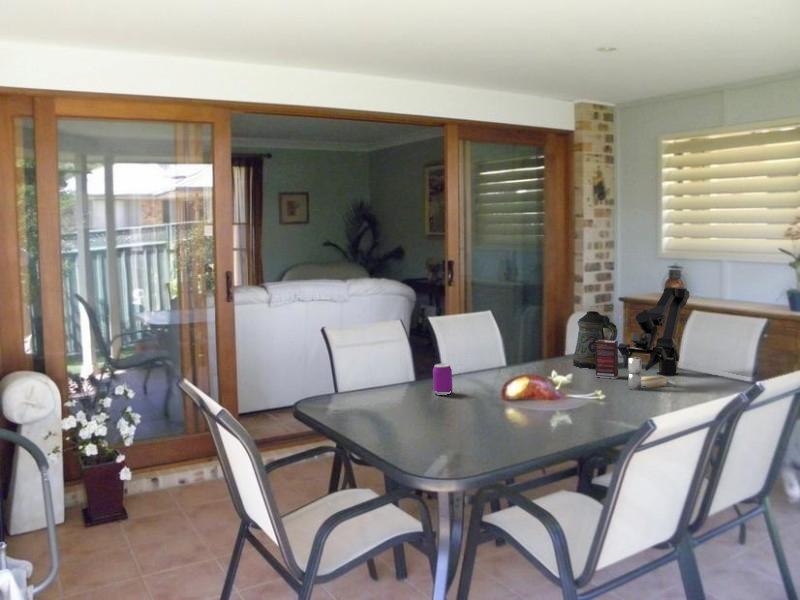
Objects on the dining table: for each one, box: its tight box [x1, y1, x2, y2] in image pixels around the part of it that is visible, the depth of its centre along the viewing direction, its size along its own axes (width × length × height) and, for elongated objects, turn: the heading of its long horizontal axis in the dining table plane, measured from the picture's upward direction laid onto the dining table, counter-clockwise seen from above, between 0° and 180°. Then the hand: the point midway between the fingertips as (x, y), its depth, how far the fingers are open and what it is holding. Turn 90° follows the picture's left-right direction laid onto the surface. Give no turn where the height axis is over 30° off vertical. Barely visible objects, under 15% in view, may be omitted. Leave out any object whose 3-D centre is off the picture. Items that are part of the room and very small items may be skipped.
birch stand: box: [641, 375, 668, 388], centre depth 299 cm, size 12×12×2 cm
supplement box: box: [595, 339, 619, 380], centre depth 312 cm, size 9×5×16 cm, turn 58°
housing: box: [627, 356, 642, 391], centre depth 291 cm, size 5×5×12 cm
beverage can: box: [432, 363, 453, 392], centre depth 296 cm, size 8×8×12 cm
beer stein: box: [572, 310, 618, 370], centre depth 335 cm, size 16×19×25 cm
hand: (635, 368), depth 291 cm, fingers open, 9 cm apart
